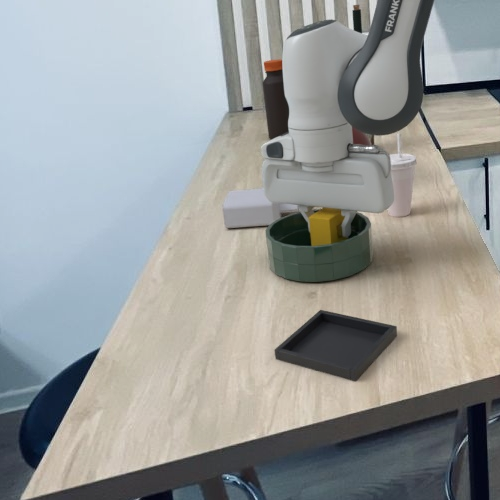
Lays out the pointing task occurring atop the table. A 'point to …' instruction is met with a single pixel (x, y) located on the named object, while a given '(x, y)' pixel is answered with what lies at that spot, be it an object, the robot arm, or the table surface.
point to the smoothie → (402, 181)
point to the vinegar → (275, 99)
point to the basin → (317, 250)
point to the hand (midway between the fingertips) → (329, 233)
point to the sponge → (325, 226)
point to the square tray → (336, 344)
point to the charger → (252, 209)
